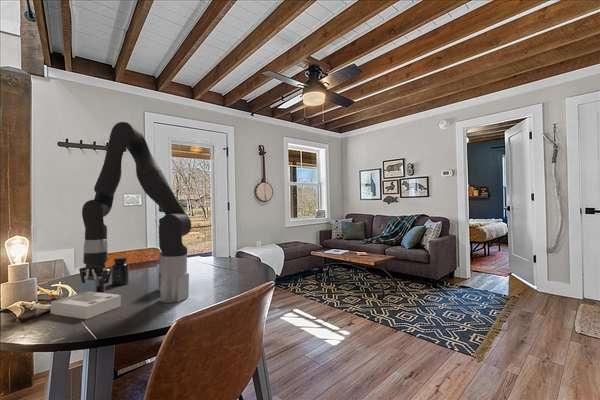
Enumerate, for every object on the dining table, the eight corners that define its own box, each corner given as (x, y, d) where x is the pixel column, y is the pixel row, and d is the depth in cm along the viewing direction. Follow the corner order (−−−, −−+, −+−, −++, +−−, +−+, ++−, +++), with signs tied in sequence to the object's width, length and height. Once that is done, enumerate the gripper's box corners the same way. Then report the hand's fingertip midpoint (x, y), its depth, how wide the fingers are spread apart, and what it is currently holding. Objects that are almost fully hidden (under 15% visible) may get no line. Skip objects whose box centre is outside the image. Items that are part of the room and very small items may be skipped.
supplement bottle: (132, 282, 130) (132, 256, 130) (121, 286, 123) (121, 259, 123) (118, 281, 130) (119, 256, 131) (107, 285, 123) (107, 259, 124)
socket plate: (120, 306, 99) (120, 294, 99) (86, 319, 87) (87, 306, 87) (87, 301, 103) (87, 290, 103) (50, 313, 91) (50, 301, 91)
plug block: (104, 295, 108) (105, 272, 109) (93, 299, 104) (94, 275, 104) (95, 294, 110) (96, 271, 110) (84, 298, 105) (85, 274, 106)
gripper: (118, 250, 109) (117, 293, 109) (91, 248, 113) (90, 290, 112) (100, 253, 102) (99, 299, 101) (72, 251, 106) (70, 296, 105)
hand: (94, 294), depth 107 cm, fingers closed on plug block, 4 cm apart
